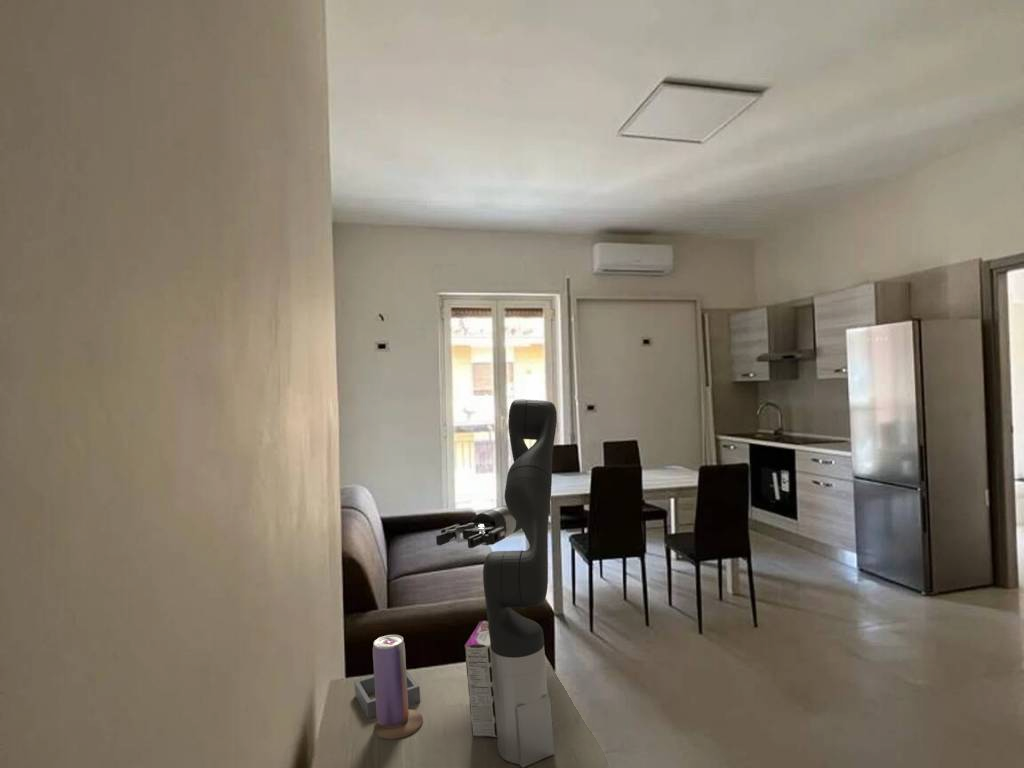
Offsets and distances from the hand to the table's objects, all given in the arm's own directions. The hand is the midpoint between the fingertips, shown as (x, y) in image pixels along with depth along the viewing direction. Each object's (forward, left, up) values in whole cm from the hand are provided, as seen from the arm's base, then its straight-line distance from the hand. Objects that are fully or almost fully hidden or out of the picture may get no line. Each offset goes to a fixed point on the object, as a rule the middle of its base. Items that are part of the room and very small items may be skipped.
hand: (453, 542), depth 121 cm
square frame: (+4, +15, -30) cm, 34 cm away
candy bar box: (-16, +1, -30) cm, 34 cm away
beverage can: (-6, +17, -30) cm, 35 cm away
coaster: (-7, +16, -30) cm, 35 cm away
